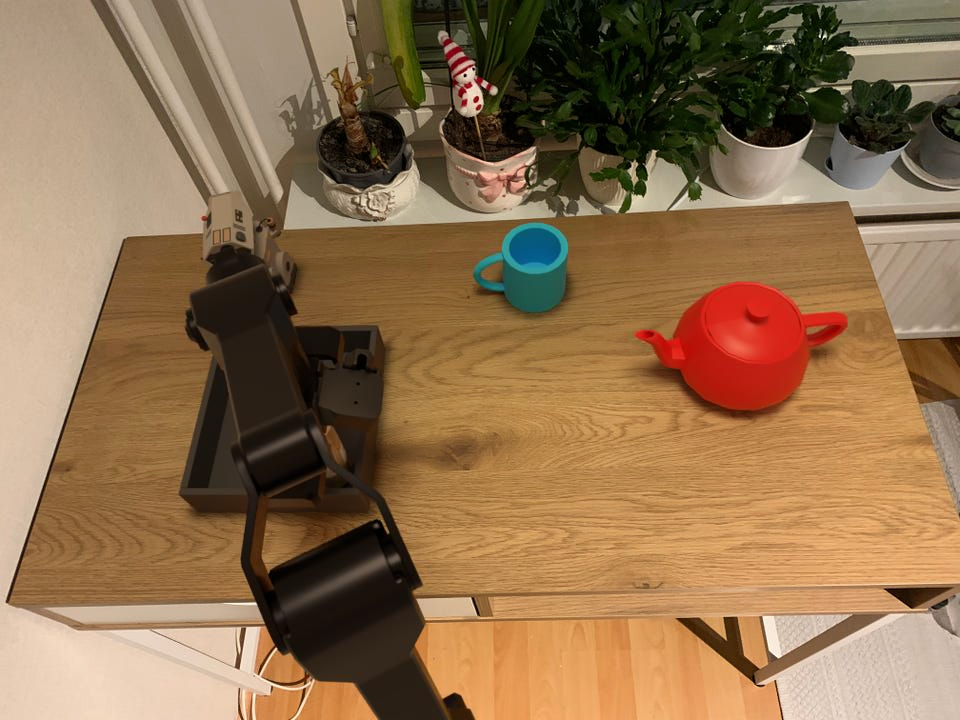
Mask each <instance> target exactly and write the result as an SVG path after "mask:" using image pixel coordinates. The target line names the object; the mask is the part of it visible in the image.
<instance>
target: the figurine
mask: <svg viewBox="0 0 960 720" xmlns="http://www.w3.org/2000/svg"><path fill="white" fill-rule="evenodd" d="M242 196H243V195H242V191H240V190H229V191H225V192H221V193H217V194H212V195H210V196H209V197H208V201H207V205H208V207H207V210H206V213H205V215H202V216H201V221H202V222H203V223H202V257H200V260H201V261H202V262H203V263H205V264H206V265H208V266H209V268H210V267H211V266H212V265H213V264H214V263H215V259H214V257H213V254H214V253H217V252H220V251H222V250H225V249H227V248H230V247H234V248H235V250H236V252H237V253H248V254H253V255H256V256H258V257H260V258H261V259H263V260H265V262H266V264H267V266H268V269H269V271H270V273H271V275H274V274H276V273H279V272H280V274H281V275H282V277H283V279H284V281H285V283H286V286H287V288H288V290H289V292H290V293H292V292H293V288H294V283H295V282H294V281H295V278H296V274H297V269H298V265H297V263H296V262H294V261H293V258H292V257H291V255H290V254H289V253H288V252H287V251H282V250H281V249H280V246H278V244H277V243H276V241H275V239H276V238H278V237H280V236H281V235H282V231H281V229H280V228H279V227H278V225H277V223H276V222H275V220H274V219H273V218H272V217H267V218H264V219H261V221H259V220H253V211H252V210H251V208H249V206H248V205H247V204H246V203H245V201H244V200H243V199H242V198H243V197H242ZM263 222H265V223H266V225H267V226H266V227H265V226H264V225H263V224H262V223H263Z"/></svg>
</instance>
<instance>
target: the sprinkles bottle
mask: <svg viewBox="0 0 960 720" xmlns="http://www.w3.org/2000/svg"><path fill="white" fill-rule="evenodd" d="M324 434H325V436H326V438H327V441H328V443H329V444H330V445H331V450H332V452H333V454H334V456H335V459H336V461H337V463H338V464H339V465H341V466H342V467H344V468H345V469H346V470H348V471H349V472H351V473H352V470H353V468H352V463H351V461H350V460H349V459H348V457H347V455H346V452H345V449H344V447H343V445H342V443H341V441H340V439H339V437H338V435H337V433H336V431H335V429H334V427H333V426H327V431H326V433H324ZM346 483H347V481H346V480H344V479H343V478H342V477H340V476H339V475H337V474H336V473H335V472H333V471H332V470H330V469H329V468H327V470H326V481H325V488H341V487H342V486H344V485H345V484H346Z"/></svg>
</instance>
